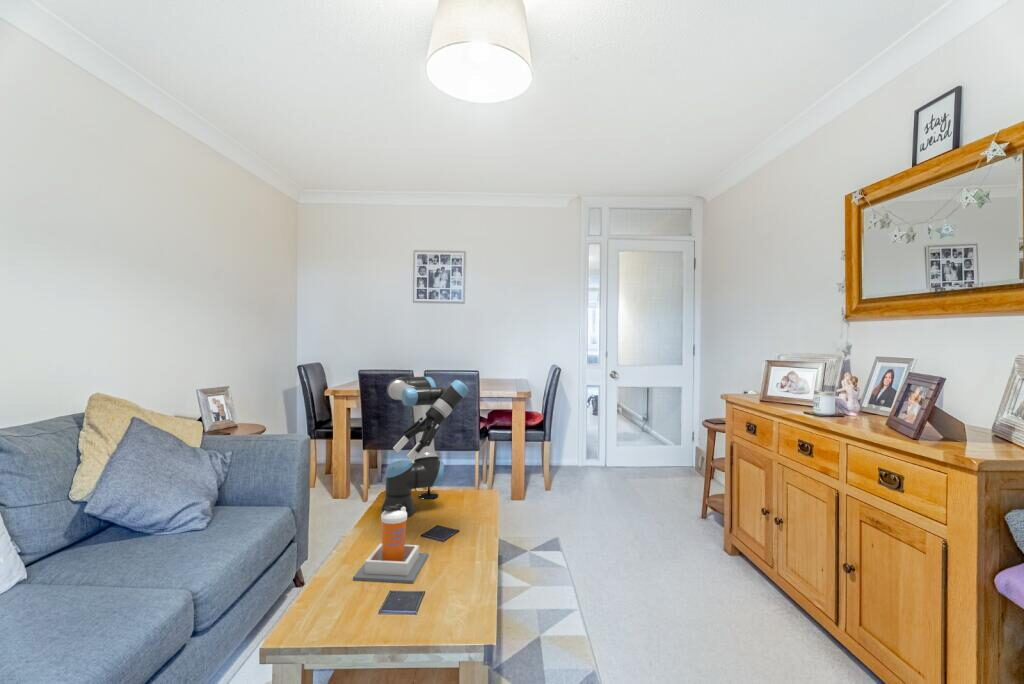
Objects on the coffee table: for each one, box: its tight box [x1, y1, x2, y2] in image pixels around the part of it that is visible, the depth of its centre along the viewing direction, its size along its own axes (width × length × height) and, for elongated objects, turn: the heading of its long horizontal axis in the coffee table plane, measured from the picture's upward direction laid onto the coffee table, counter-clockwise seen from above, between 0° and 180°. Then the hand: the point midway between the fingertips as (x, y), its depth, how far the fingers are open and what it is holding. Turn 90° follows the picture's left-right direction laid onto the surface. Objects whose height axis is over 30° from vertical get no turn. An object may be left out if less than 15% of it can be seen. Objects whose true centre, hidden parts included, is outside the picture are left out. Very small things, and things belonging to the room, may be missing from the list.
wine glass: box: [418, 487, 439, 500], centre depth 237 cm, size 10×10×20 cm
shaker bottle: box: [380, 504, 408, 562], centre depth 160 cm, size 9×9×20 cm
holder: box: [352, 542, 429, 584], centre depth 160 cm, size 20×20×5 cm
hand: (402, 454), depth 177 cm, fingers open, 13 cm apart
